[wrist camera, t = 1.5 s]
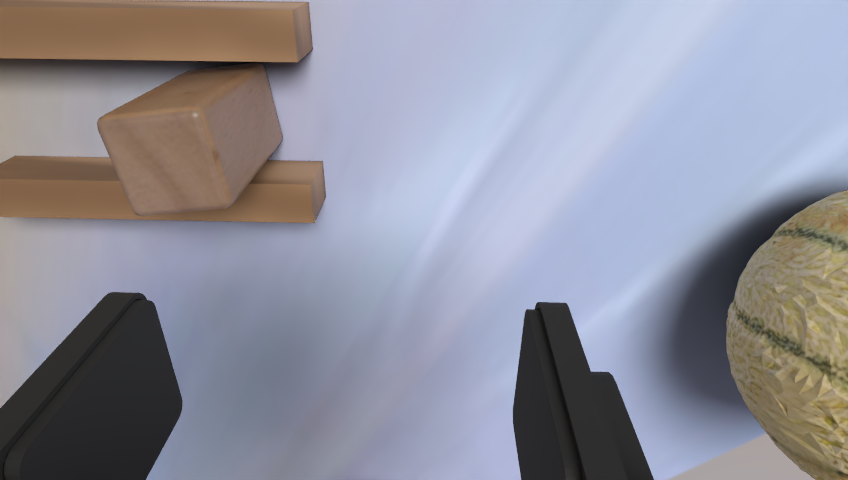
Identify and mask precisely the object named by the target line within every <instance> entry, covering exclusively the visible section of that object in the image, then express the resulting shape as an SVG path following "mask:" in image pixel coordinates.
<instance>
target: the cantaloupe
mask: <svg viewBox="0 0 848 480" xmlns="http://www.w3.org/2000/svg"><path fill="white" fill-rule="evenodd" d="M726 326H727V334H726V346H727V349H726V351H727V355H728V359H729V361H730V368H731V374H732V376H733V378H734V380H735V382H736V385H737V388H738V390H739V392H740V393H741V395H742V397H743V400H744V402H745V404H746V406H747V407H748V408H749V410H750V411H751V412H752V414H753V415H754V417H755V418H756V419H757V421H758V422H759V423H760V425H761V427H762V428H763V429H764V430H765V431H766V432H767V434H768V435H769V436H770V438H771V439H772V441H773V442H774V443H775V445H776V446H777V447H778V448H779V449H780V450H781V451H782V452H783V453H784V454H785V455H786V456H787V457H788V458H789V459H791V460H792V461H793V462H794V463H795V464H796V465H797V466H798V467H799V468H800V469H801V470H803V471H804V472H806V473H808V474H809V475H810V476H811V477H812V478H814V479H815V480H848V190H847V191H842V192H837V193H834V194H832V195H830V196H827V197H825V198H823V199H821V200H819V201H817V202H815V203H813V204H811V205H809V206H808V207H807V208H805V209H804V210H802V211H800V212H798V213H797V214H795V215H794V216H793V217H791V218H790V219H789V220H788V221H786V222H785V223H783V224H782V225H781V226H780V227H779V228H778V229H777V230H776V231H775V233H774V234H773V236H772V237H771V238H770V239H769V240H767V241H766V242H765V243H764V244H762V245H761V246H760V247H759V248H758V249H757V251H756V252H755V253H754V254H753V255H752V257H751V258H750V260H749V262H748V263H747V266H746V267H745V269H744V271H743V272H742V274H741V276H740V277H739V281H738V285H737V288H736V292H735V296H734V301H733V302H732V303H731V304H730V307H729V309H728V318H727V321H726Z"/></svg>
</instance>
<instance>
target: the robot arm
mask: <svg viewBox="0 0 848 480" xmlns="http://www.w3.org/2000/svg"><path fill="white" fill-rule="evenodd" d="M181 411H182V397H181V393H180V390H179V386H178V383H177V380H176V376H175V373H174V369H173V366H172V362H171V359H170V355H169V352H168V349H167V345H166V342H165V338H164V335H163V331H162V328H161V324H160V321H159V317H158V314H157V311H156V307H155V305H154V303H153V302H152V301H149V300H147V299H146V297H145V296H144V295H143V294H141V293H120V292H112V293H108V294H107V295H106V296H105V297H104V298H103V299H102V300H101V301H100V302H99V303H98V304H97V305H96V306H95V307H94V308H93V310H92V311H91V312H90V313H89V314H88V315H87V316H86V317H85V318H84V319H83V320H82V321H81V322H80V324H79V325H78V326H77V327H76V328H75V329H74V330H73V331H72V332H71V333H70V334H69V335H68V336H67V337H66V339H65V340H64V341H63V342H62V343H61V344H60V345H59V346H58V347H57V348H56V349H55V350H54V351H53V353H52V354H51V355H50V356H49V357H48V358H47V359H46V360H45V361H44V362H43V363H42V364H41V365H40V366H39V368H38V369H37V370H36V371H35V372H34V373H33V374H32V375H31V376H30V377H29V378H28V379H27V380H26V382H25V383H24V384H23V385H22V386H21V387H20V388H19V389H18V390H17V391H16V392H15V393H14V394H13V395H12V397H11V398H10V399H9V400H8V401H7V402H6V403H5V404H4V405H3V406H2V407H1V408H0V480H146V478H147V476H148V474H149V472H150V471H151V469H152V467H153V465H154V463H155V461H156V459H157V458H158V456H159V454H160V452H161V450H162V448H163V447H164V445H165V443H166V441H167V439H168V437H169V436H170V434H171V432H172V430H173V428H174V426H175V424H176V423H177V421H178V419H179V417H180V414H181ZM513 425H514V433H515V439H516V446H517V453H518V460H519V466H520V473H521V480H654V479H653V476H652V474H651V471H650V468H649V466H648V463H647V461H646V458H645V456H644V453H643V451H642V448H641V445H640V443H639V440H638V438H637V435H636V433H635V430H634V428H633V425H632V422H631V420H630V417H629V415H628V412H627V410H626V407H625V405H624V402H623V399H622V397H621V394H620V392H619V389H618V387H617V384H616V382H615V380H614V378H613V376H612V375H611V374H610V373H609V372H591V371H590V368H589V365H588V362H587V359H586V357H585V354H584V351H583V348H582V345H581V342H580V339H579V336H578V333H577V330H576V327H575V324H574V322H573V319H572V316H571V313H570V310H569V307H568V305H567V304H566V303H548V302H538V303H537V304H536V306H535V310H530V309H527V310H526V312H525V318H524V326H523V334H522V342H521V350H520V358H519V366H518V374H517V382H516V390H515V398H514V406H513Z"/></svg>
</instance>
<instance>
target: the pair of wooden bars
mask: <svg viewBox="0 0 848 480" xmlns="http://www.w3.org/2000/svg"><path fill="white" fill-rule="evenodd" d="M312 49H313V46H312V35H311V24H310V12H309V2H259V1H173V0H0V58H23V59H95V60H168V61H241V62H299V61H300V60H301V59H302V58H303V57H304V56H306V55H307V54H308V53H309V52H310V51H311V50H312ZM325 198H326V192H325V181H324V170H323V161H279V160H267V161H266V162H265V164H264V165H263V166H262V168H261V169H260V170H259V171H258V173H257V174H256V175H255V177H254V178H253V179H252V180H251V182H250V183H249V184H248V186H247V187H246V188H245V189H244V191H243V192H242V193H241V194H240V196H239V197H238V198H237V200H236V201H235V202H234V203H233V205H231V206H229V207H227V208H223V209H213V210H202V211H192V212H182V213H172V214H161V215H151V216H138V215H136V214H135V213H134V212H133V211H132V209H131V206H130V204H129V202H128V199H127V197H126V194H125V192H124V190H123V187H122V185H121V183H120V180H119V178H118V175H117V173H116V171H115V168H114V166H113V164H112V161H111V159H110V158H107V157H50V156H14V157H12V158H10V159H8V160H6V161H4V162H2V163H1V164H0V217H37V218H88V219H139V220H190V221H240V222H291V223H315V220H316V218H317V216H318V214H319V211H320V209H321V207H322V205H323V202H324V200H325Z"/></svg>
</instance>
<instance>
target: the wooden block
mask: <svg viewBox="0 0 848 480" xmlns="http://www.w3.org/2000/svg"><path fill="white" fill-rule="evenodd" d="M97 124H98V130H99V133H100V135H101V138H102V140H103V142H104V145H105V147H106V149H107V152H108V154H109V157H110V159H111V161H112V164H113V166H114V168H115V171H116V173H117V175H118V178H119V180H120V183H121V185H122V187H123V190H124V192H125V194H126V197H127V199H128V202H129V204H130V206H131V209H132V211H133V212H134V213H135V214H136V215H138V216H151V215H161V214H172V213H182V212H192V211H202V210H213V209H223V208H227V207H229V206H231V205H233V203H234V202H235V201H236V200H237V198H238V197H239V196H240V194H241V193H242V192H243V191H244V189H245V188H246V187H247V186H248V184H249V183H250V182H251V180H252V179H253V178H254V177H255V175H256V174H257V173H258V171H259V170H260V169H261V168H262V166H263V165H264V164H265V162H266V161H267V160H268V159H269V157H270V156H271V155H272V153H273V152H274V151H275V150H276V148H277V147H278V146H279V145H280V143H281V142H282V133H281V129H280V125H279V121H278V117H277V113H276V109H275V106H274V102H273V98H272V94H271V90H270V86H269V82H268V78H267V74H266V70H265V69H264V67H263V65H262V64H258V63H247V64H238V65H230V66H222V67H213V68H205V69H197V70H189V71H187V72H185V73H183V74H181V75H179V76H177V77H175V78H173V79H172V80H170V81H168V82H166V83H164V84H162V85H160V86H158V87H156V88H154V89H153V90H151V91H149V92H147V93H145V94H143V95H141V96H139V97H137V98H136V99H134V100H132V101H130V102H128V103H126V104H124V105H122V106H120V107H118V108H117V109H115V110H113V111H111V112H109V113H107V114H105V115H104V116H102V117H101V118H99V120H98V122H97Z"/></svg>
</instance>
